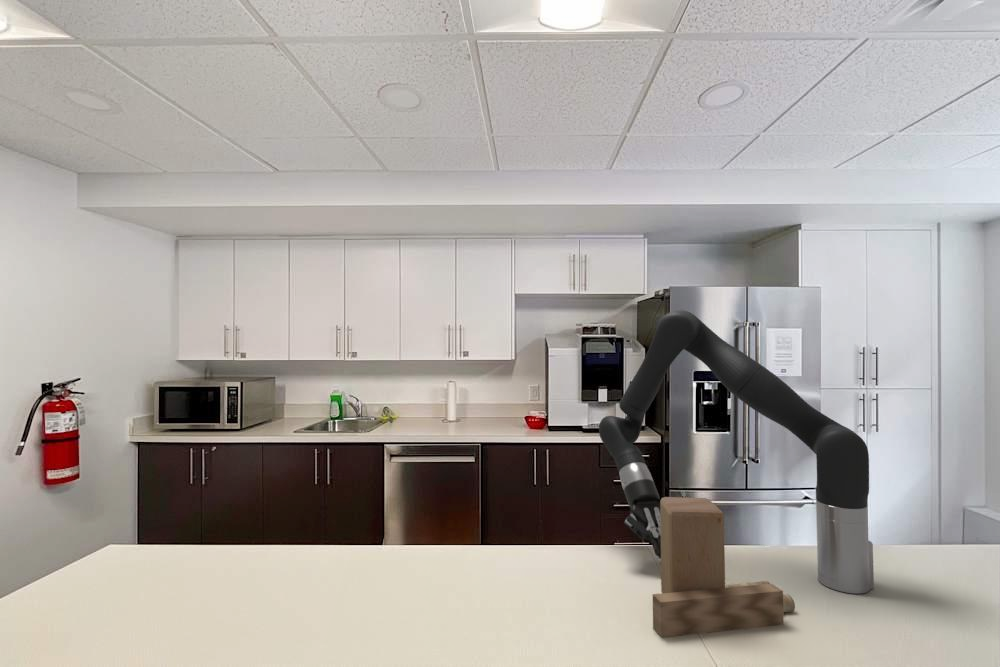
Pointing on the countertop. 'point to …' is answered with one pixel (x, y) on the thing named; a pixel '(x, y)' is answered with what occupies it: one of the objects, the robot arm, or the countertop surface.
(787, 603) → the roller
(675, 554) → the wooden block
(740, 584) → the roller
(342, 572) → the countertop surface
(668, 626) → the board
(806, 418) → the robot arm
